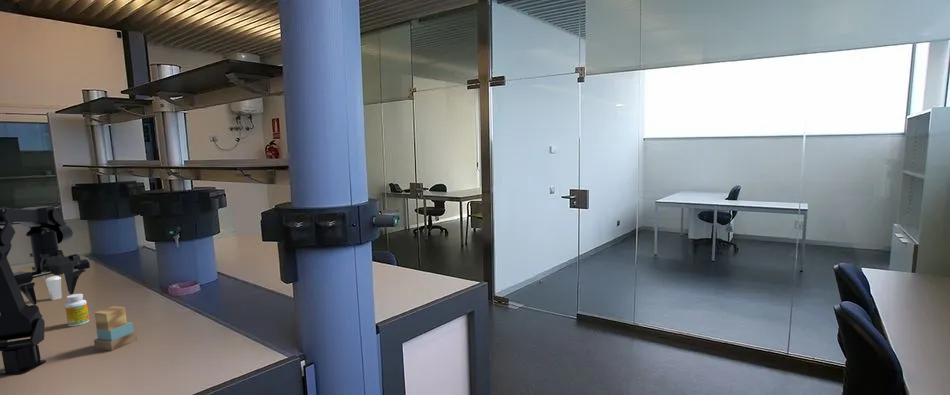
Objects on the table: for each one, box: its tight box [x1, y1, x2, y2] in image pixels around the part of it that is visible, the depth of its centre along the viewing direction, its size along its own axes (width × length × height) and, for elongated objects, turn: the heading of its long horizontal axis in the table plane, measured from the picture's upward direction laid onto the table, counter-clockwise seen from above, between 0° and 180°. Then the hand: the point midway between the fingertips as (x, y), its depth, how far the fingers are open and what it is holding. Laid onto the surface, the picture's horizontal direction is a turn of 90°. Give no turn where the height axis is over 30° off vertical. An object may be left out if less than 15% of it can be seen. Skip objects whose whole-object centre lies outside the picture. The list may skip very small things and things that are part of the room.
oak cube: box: [93, 305, 128, 331], centre depth 130 cm, size 5×5×5 cm
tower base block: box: [93, 331, 138, 352], centre depth 131 cm, size 7×7×3 cm
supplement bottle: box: [64, 293, 90, 327], centre depth 149 cm, size 5×5×10 cm
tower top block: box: [96, 321, 135, 341], centre depth 131 cm, size 6×6×3 cm
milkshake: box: [42, 275, 63, 301], centre depth 178 cm, size 4×5×10 cm
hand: (53, 299), depth 134 cm, fingers open, 9 cm apart
